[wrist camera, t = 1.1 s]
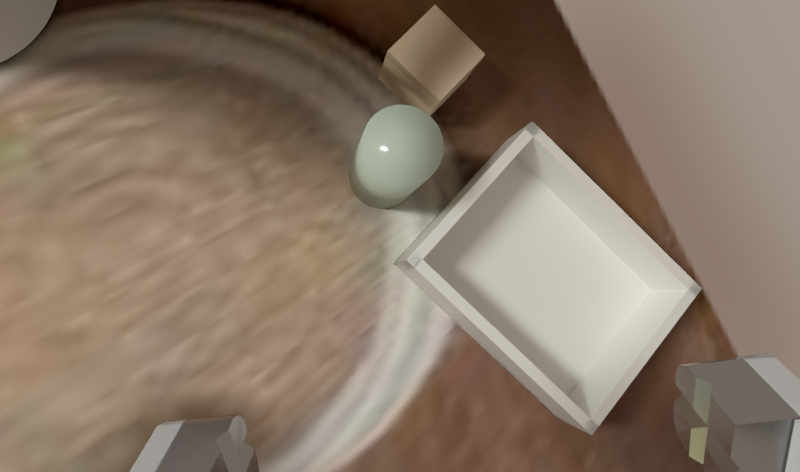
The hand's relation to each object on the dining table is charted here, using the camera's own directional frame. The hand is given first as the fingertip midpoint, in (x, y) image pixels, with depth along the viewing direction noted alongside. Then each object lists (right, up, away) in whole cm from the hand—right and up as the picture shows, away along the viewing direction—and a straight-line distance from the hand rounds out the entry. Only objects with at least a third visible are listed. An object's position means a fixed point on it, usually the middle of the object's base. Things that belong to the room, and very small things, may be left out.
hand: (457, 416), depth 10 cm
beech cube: (+1, +16, +32) cm, 36 cm away
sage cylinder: (-3, +8, +30) cm, 32 cm away
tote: (+9, 0, +32) cm, 33 cm away
